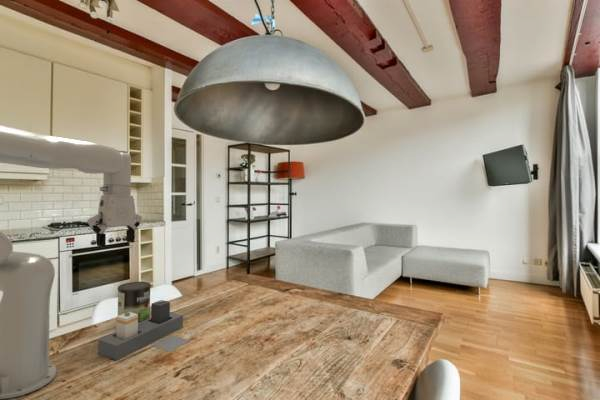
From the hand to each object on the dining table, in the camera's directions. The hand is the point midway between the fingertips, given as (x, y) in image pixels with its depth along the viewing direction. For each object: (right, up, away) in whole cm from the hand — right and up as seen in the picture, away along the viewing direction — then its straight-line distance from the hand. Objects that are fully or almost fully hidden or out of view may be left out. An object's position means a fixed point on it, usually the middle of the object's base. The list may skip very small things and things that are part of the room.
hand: (116, 244), depth 97 cm
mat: (+19, -31, -3) cm, 36 cm away
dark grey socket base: (+10, -31, -1) cm, 32 cm away
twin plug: (+12, -29, +5) cm, 31 cm away
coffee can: (0, -30, +10) cm, 32 cm away
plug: (+7, -29, -6) cm, 30 cm away
